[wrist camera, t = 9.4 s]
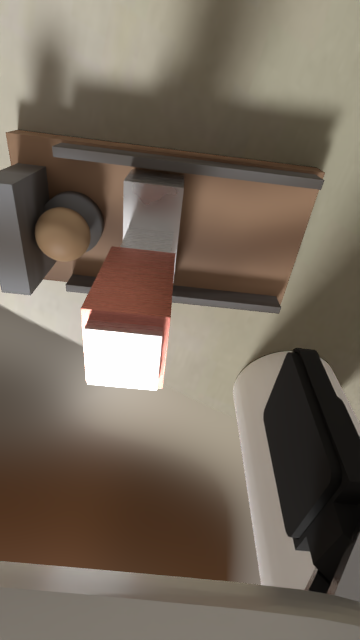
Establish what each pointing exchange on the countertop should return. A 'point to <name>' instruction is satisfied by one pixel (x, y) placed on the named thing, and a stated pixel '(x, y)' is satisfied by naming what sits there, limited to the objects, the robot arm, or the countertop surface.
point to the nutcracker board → (195, 223)
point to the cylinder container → (270, 474)
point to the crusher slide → (135, 288)
